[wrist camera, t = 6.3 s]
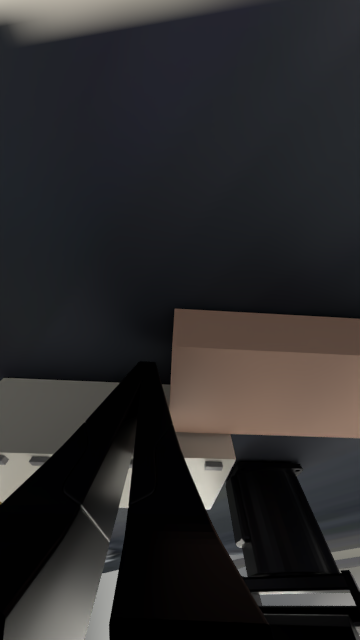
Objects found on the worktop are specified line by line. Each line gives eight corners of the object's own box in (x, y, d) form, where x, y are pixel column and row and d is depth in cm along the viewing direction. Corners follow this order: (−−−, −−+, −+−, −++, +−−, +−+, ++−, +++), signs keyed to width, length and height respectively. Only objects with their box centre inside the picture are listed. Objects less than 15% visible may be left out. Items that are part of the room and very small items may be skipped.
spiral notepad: (219, 386, 11) (237, 464, 8) (203, 444, 15) (210, 513, 12) (3, 377, 11) (-84, 455, 7) (46, 439, 15) (3, 509, 11)
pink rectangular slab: (397, 320, 8) (485, 361, 6) (338, 391, 11) (382, 439, 9) (174, 308, 8) (172, 346, 6) (170, 384, 11) (168, 431, 8)
